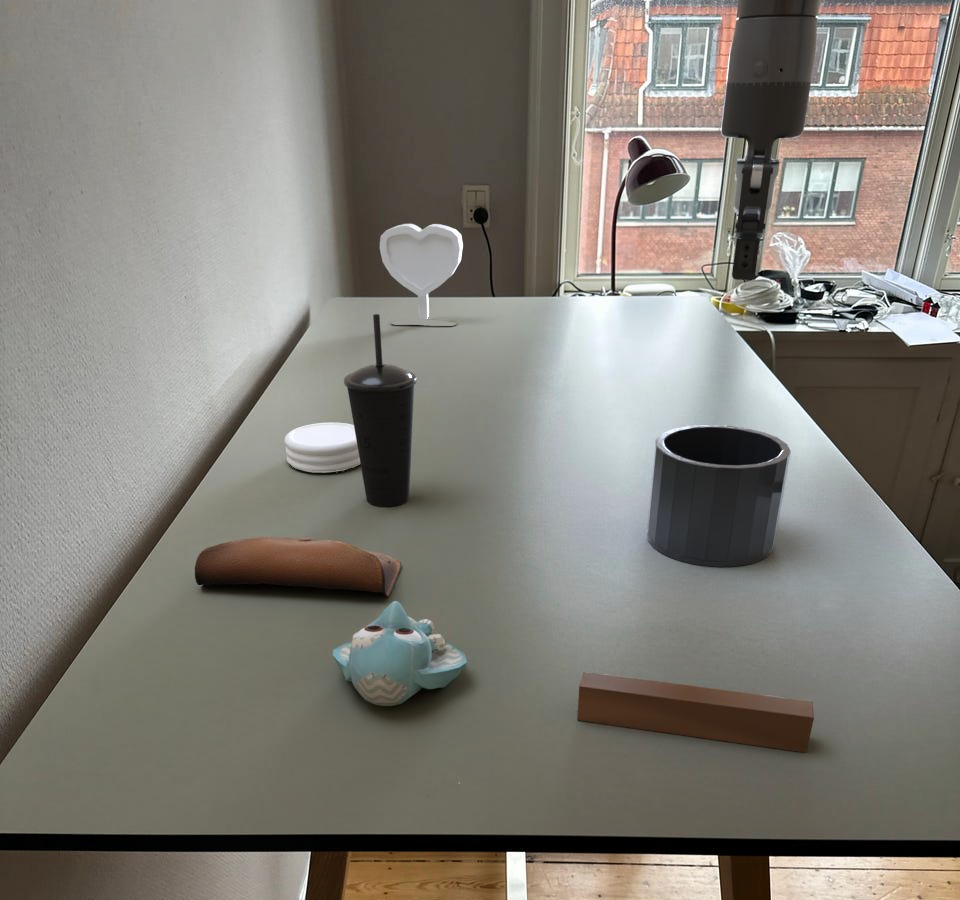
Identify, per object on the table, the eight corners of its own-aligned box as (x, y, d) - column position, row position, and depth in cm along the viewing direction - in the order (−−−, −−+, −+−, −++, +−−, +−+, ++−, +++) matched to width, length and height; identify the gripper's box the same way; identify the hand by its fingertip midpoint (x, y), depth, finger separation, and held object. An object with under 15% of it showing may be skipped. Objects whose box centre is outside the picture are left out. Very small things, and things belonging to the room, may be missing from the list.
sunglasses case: (405, 556, 89) (394, 516, 84) (394, 619, 86) (382, 581, 80) (228, 548, 91) (205, 508, 86) (210, 609, 88) (186, 571, 82)
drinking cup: (376, 482, 108) (364, 304, 98) (433, 492, 105) (427, 310, 95) (340, 504, 102) (323, 318, 92) (399, 516, 99) (389, 325, 89)
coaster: (327, 481, 109) (324, 452, 107) (270, 463, 114) (266, 436, 112) (384, 457, 115) (382, 430, 114) (328, 442, 121) (325, 416, 119)
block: (581, 705, 69) (583, 671, 67) (805, 736, 65) (812, 701, 63) (577, 720, 67) (579, 686, 65) (806, 753, 63) (814, 717, 62)
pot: (740, 511, 100) (753, 421, 95) (796, 560, 89) (814, 462, 84) (630, 520, 98) (637, 429, 93) (673, 572, 87) (685, 472, 82)
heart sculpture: (383, 325, 181) (377, 226, 172) (389, 320, 186) (383, 223, 176) (460, 327, 179) (458, 227, 170) (464, 321, 183) (463, 223, 174)
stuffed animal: (482, 581, 74) (451, 629, 63) (479, 664, 77) (449, 724, 65) (354, 571, 76) (302, 616, 65) (356, 652, 78) (306, 709, 67)
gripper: (816, 76, 77) (783, 288, 86) (807, 78, 89) (780, 264, 98) (724, 78, 79) (701, 285, 88) (728, 79, 91) (708, 262, 100)
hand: (743, 273), depth 93 cm, fingers open, 5 cm apart
